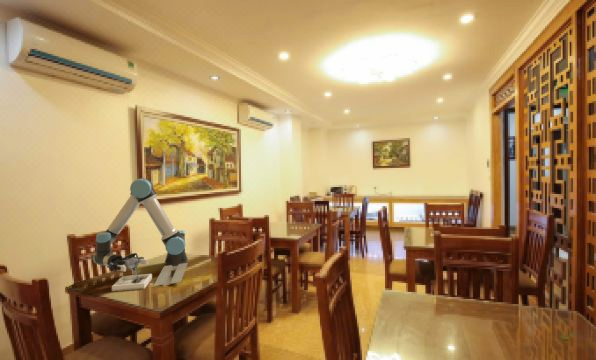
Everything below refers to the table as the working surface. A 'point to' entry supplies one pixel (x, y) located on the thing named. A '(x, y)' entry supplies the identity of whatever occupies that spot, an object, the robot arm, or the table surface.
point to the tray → (126, 284)
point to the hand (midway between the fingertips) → (136, 265)
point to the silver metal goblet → (132, 265)
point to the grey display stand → (171, 274)
